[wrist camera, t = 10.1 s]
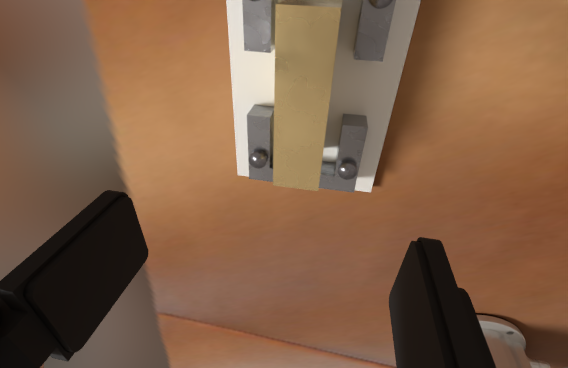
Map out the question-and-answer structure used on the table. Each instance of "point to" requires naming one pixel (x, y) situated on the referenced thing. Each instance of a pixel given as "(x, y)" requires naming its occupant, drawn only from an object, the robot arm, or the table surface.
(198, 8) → the table surface
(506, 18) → the table surface
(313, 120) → the tall tan wooden block
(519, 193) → the table surface
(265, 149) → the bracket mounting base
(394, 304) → the robot arm
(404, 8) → the board
